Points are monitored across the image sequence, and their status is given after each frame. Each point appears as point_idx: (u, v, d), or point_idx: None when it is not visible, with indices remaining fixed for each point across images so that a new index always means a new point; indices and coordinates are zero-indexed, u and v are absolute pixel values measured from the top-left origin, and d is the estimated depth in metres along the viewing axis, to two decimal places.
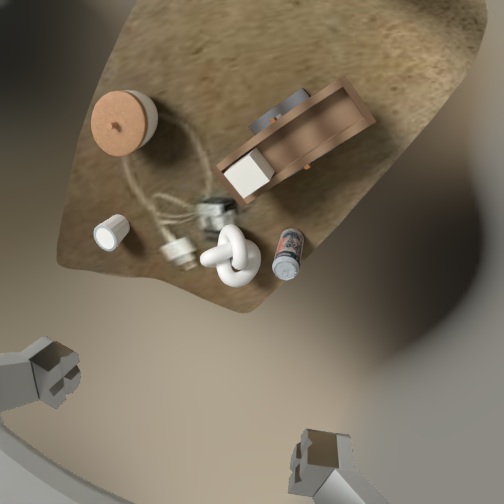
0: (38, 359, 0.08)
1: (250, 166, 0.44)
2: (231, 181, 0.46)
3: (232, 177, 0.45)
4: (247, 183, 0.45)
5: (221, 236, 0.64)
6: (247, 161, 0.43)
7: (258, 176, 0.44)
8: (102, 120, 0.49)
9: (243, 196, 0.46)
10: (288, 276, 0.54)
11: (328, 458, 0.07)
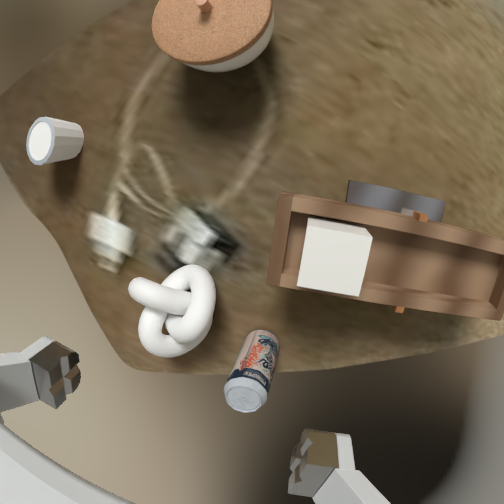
0: (38, 359, 0.08)
1: (356, 254, 0.22)
2: (307, 247, 0.23)
3: (314, 243, 0.23)
4: (327, 271, 0.23)
5: (181, 274, 0.38)
6: (361, 243, 0.22)
7: (351, 277, 0.23)
8: None
9: (300, 283, 0.24)
10: (240, 407, 0.31)
11: (328, 458, 0.07)
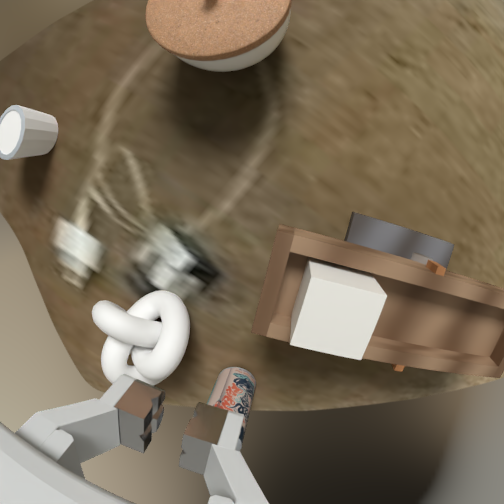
0: (126, 405, 0.07)
1: (365, 314, 0.18)
2: (307, 302, 0.19)
3: (317, 298, 0.19)
4: (328, 331, 0.19)
5: (151, 300, 0.33)
6: (372, 302, 0.18)
7: (356, 339, 0.19)
8: None
9: (294, 342, 0.19)
10: None
11: (208, 433, 0.07)
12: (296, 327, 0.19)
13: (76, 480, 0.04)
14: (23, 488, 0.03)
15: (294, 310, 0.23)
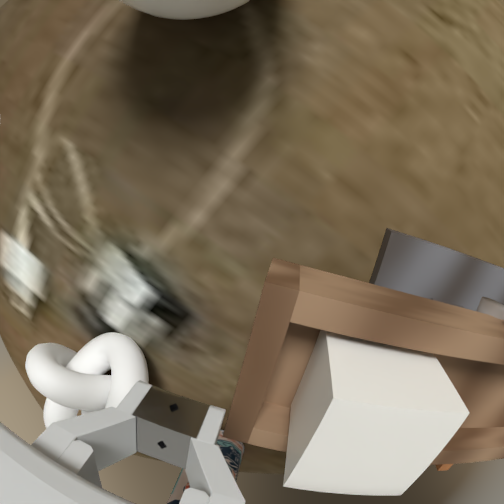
0: (143, 412, 0.07)
1: (426, 443, 0.08)
2: (321, 437, 0.08)
3: (342, 431, 0.08)
4: (355, 471, 0.08)
5: (101, 347, 0.22)
6: (443, 426, 0.07)
7: (400, 475, 0.08)
8: None
9: (291, 484, 0.09)
10: None
11: (188, 426, 0.07)
12: (296, 468, 0.08)
13: (76, 480, 0.04)
14: (23, 488, 0.03)
15: (295, 410, 0.12)
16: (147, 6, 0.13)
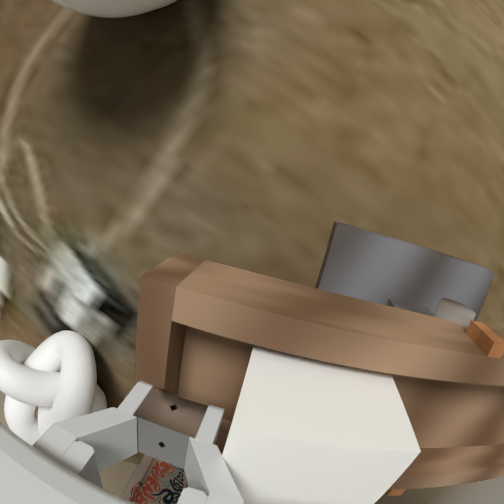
0: (145, 413, 0.07)
1: (365, 482, 0.06)
2: (229, 465, 0.07)
3: (252, 462, 0.07)
4: None
5: (54, 345, 0.21)
6: (385, 465, 0.06)
7: None
8: None
9: None
10: None
11: (187, 426, 0.07)
12: None
13: (76, 480, 0.04)
14: (23, 488, 0.03)
15: None
16: (80, 8, 0.11)
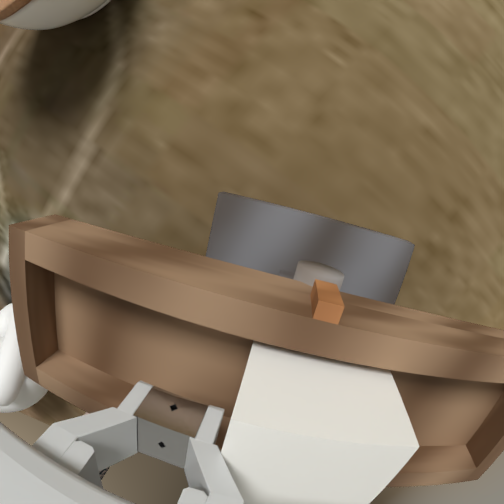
0: (145, 413, 0.07)
1: (364, 477, 0.06)
2: (228, 460, 0.07)
3: (251, 456, 0.07)
4: (280, 499, 0.07)
5: (5, 313, 0.21)
6: (384, 460, 0.06)
7: None
8: None
9: None
10: None
11: (187, 426, 0.07)
12: None
13: (76, 480, 0.04)
14: (23, 488, 0.03)
15: None
16: (17, 26, 0.12)
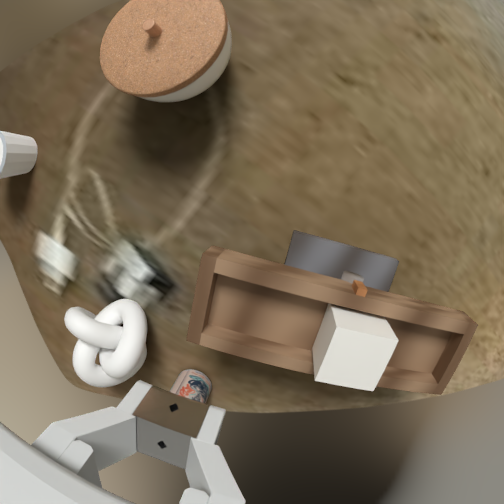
0: (144, 412, 0.07)
1: (379, 355, 0.21)
2: (332, 347, 0.21)
3: (340, 344, 0.21)
4: (348, 369, 0.21)
5: (116, 308, 0.35)
6: (386, 345, 0.20)
7: (370, 375, 0.21)
8: (150, 9, 0.21)
9: (318, 378, 0.22)
10: None
11: (188, 426, 0.07)
12: (321, 367, 0.21)
13: (76, 480, 0.04)
14: (23, 488, 0.03)
15: (316, 347, 0.25)
16: (146, 99, 0.26)
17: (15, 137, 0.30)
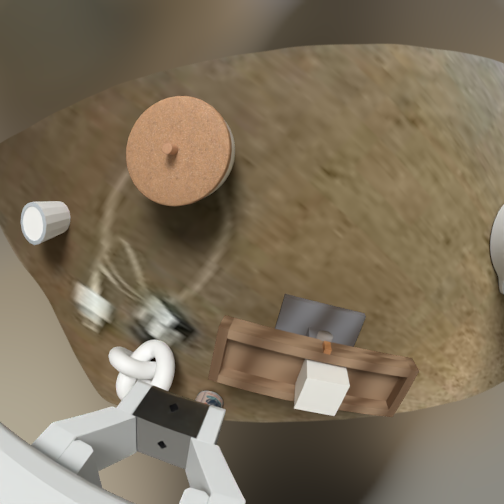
0: (144, 412, 0.07)
1: (337, 394, 0.31)
2: (304, 389, 0.32)
3: (310, 387, 0.31)
4: (316, 402, 0.32)
5: (149, 347, 0.46)
6: (341, 388, 0.31)
7: (331, 406, 0.32)
8: (165, 125, 0.31)
9: (296, 407, 0.32)
10: None
11: (188, 426, 0.07)
12: (298, 400, 0.32)
13: (76, 480, 0.04)
14: (23, 488, 0.03)
15: (297, 384, 0.36)
16: None
17: (50, 207, 0.41)
